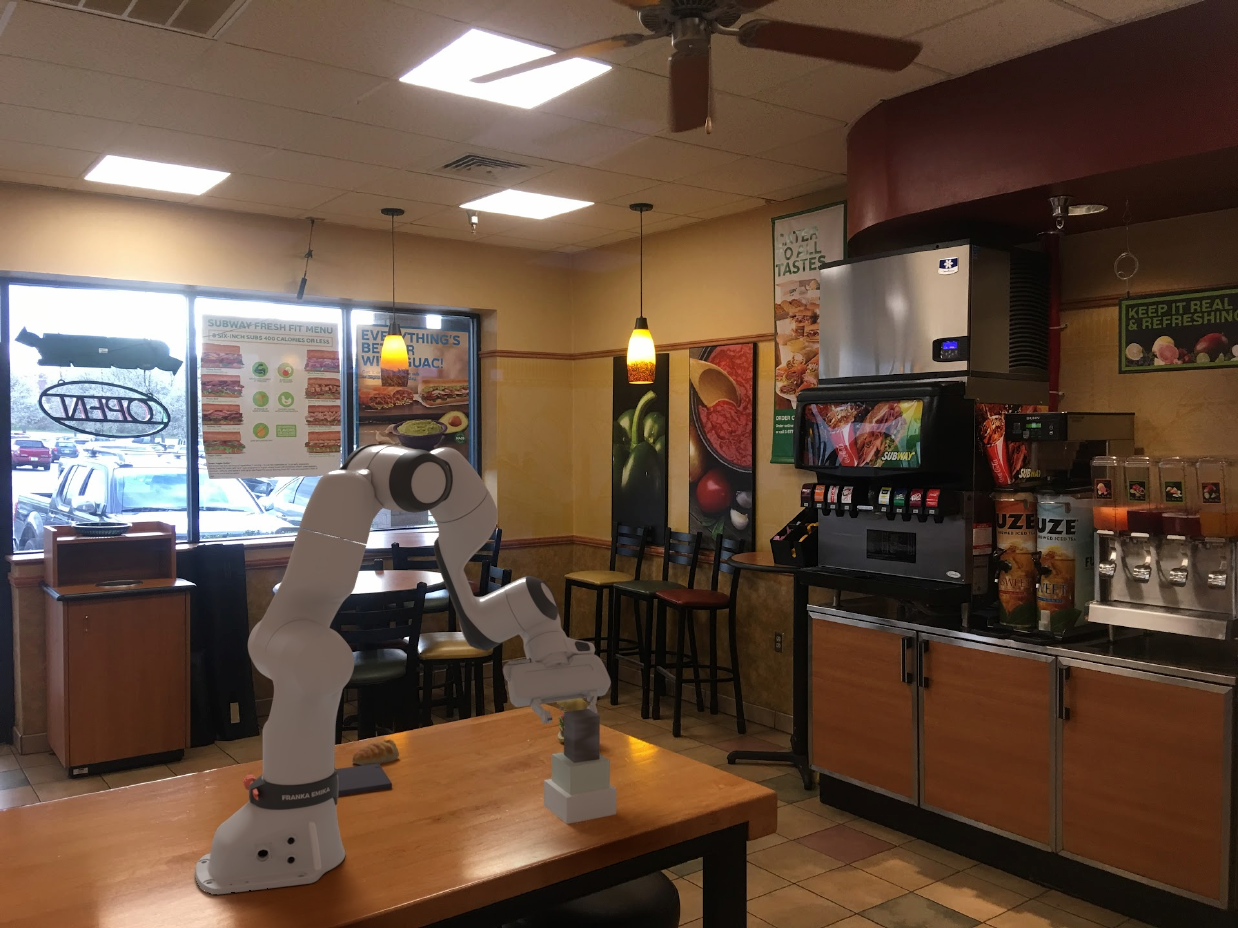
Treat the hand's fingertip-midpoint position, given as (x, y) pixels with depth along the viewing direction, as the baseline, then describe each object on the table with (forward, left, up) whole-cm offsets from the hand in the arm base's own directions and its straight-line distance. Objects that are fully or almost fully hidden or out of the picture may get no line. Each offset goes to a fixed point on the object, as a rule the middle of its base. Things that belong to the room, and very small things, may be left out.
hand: (570, 718), depth 184 cm
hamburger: (+16, +32, -16) cm, 39 cm away
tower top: (0, -5, -11) cm, 12 cm away
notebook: (-38, +28, -16) cm, 50 cm away
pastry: (-26, +39, -16) cm, 50 cm away
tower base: (0, -5, -16) cm, 17 cm away
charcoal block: (0, -5, -6) cm, 8 cm away
